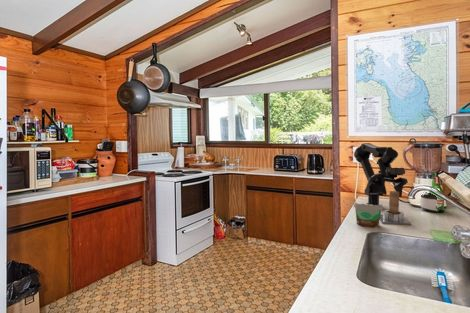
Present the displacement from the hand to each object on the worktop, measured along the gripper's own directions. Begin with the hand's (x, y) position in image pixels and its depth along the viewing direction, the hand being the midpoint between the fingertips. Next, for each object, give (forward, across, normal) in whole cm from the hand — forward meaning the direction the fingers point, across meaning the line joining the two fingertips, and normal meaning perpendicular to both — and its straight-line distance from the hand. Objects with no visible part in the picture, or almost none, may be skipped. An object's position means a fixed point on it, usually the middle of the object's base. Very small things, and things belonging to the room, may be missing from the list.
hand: (393, 195), depth 151 cm
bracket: (+12, -2, +2) cm, 13 cm away
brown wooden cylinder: (+12, -2, +2) cm, 12 cm away
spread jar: (+2, +30, +6) cm, 31 cm away
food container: (+17, -18, +1) cm, 25 cm away
